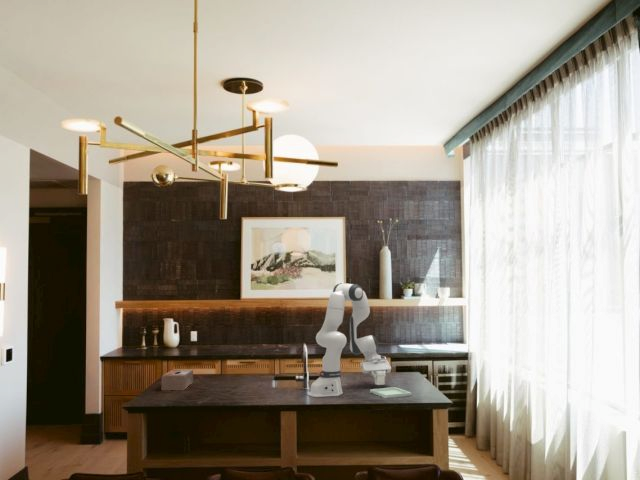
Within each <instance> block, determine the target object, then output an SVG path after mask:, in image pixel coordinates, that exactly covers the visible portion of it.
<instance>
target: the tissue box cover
mask: <svg viewBox="0 0 640 480" xmlns="http://www.w3.org/2000/svg"><path fill="white" fill-rule="evenodd" d="M192 383H193V384H194V369H171V370H170V371H168V372H166V373H164V374H163V375H161V389H160V390H184V389H186V388H187V387H188V386H189V385H190V384H192ZM193 384H192V385H193ZM188 388H189V387H188ZM188 388H187V389H188ZM187 389H186V390H187ZM184 391H185V390H184Z"/></svg>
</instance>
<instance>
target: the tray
mask: <svg viewBox="0 0 640 480" xmlns="http://www.w3.org/2000/svg"><path fill="white" fill-rule="evenodd" d="M369 393H370V394H372V393H373V394H372V395H375V396H377V395H378V397H380V396H381V397H380V398H383V399H385V398H387V399H394V398H396V397H397V398H404V397H405V398H407V397H412V395H413V394H412V392H411V391H408V390H405V389H402V388H399V387H395V386H394V387H393V386H391V387H383V388H373V389H369ZM397 398H396V399H397Z"/></svg>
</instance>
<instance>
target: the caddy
mask: <svg viewBox="0 0 640 480" xmlns="http://www.w3.org/2000/svg"><path fill="white" fill-rule="evenodd" d="M374 374H375V375H377V378H374V385H377V386H382V385H383V386H384V385H386V384H385V383H386V382H385V381H386V379H385V378H386V377H385V375H386V373H385V372H383V371H377V372H375V373H374Z"/></svg>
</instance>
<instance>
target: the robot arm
mask: <svg viewBox="0 0 640 480" xmlns="http://www.w3.org/2000/svg"><path fill="white" fill-rule="evenodd" d="M346 302H351V307H352V313H351V316H350V317H349V350H350V352H351V353H352V354H354V355H356V356H358V355H360V354H363V356H364V360H361V361H359V365H360V366H361V367H360V368H361V371H362V373H363V374H364V375H371V376H372V377H373V379H375V378H377V375H375V372H377V371H383V372H385V378H386V376H387V375H386V373H390V372H391V371H392V366H391V364H390V362H389V361H388V360H387V357H386V356H384V355H380V354H378V353H377V349H378V347H379V342H378V339H377V337H376V336H374V335H372V334H370V335H365V336H363V337H359V338H357V336H358V335H357V329H358V328H357V327H358V326H359V325H360V323H362V322H363V321H365V320H366V319H367V318H368V317H369V315H370V313H371V309H370V308H371V307H370V303H369V299H368V297H367V294H366V292H365V290H363V288H362V287H361V285H359V284H355V283H338V284H336V285H334V287H333V290H332V292H331V294H330V295H329V299H328V302H327V307H326V311H325V317H324V322H323V323H322V326H321V329H320V330H319V331H318V332H317V333H316V336H315V341H316V343H317V345H319V346H320V347H322V348H326V350H325V353H324V356H322V360H321V362H322V363H321V364H322V370H321V371H320V370H318V371H317V372H316V374H317V375H319V377H318V378H316V380H314V381H313V382H312V383H311V385H310V391H306V392H307V393H306V394H307V395H308V396H309V397H312V398H321V397H326V398H327V397H339V396H340V395H343V393H344V392H343V388H342V382H341V379H342V378H341V377H342V372H341V371H342V370H341V355H342V353H343V352H342V351H343V349H344V347H346V345H347V342H348V341H347V337H346V335H345V333H342V332H341V331H338V329H339V327H340V325H342V324H343V320H344V315H345V305H346Z"/></svg>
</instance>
